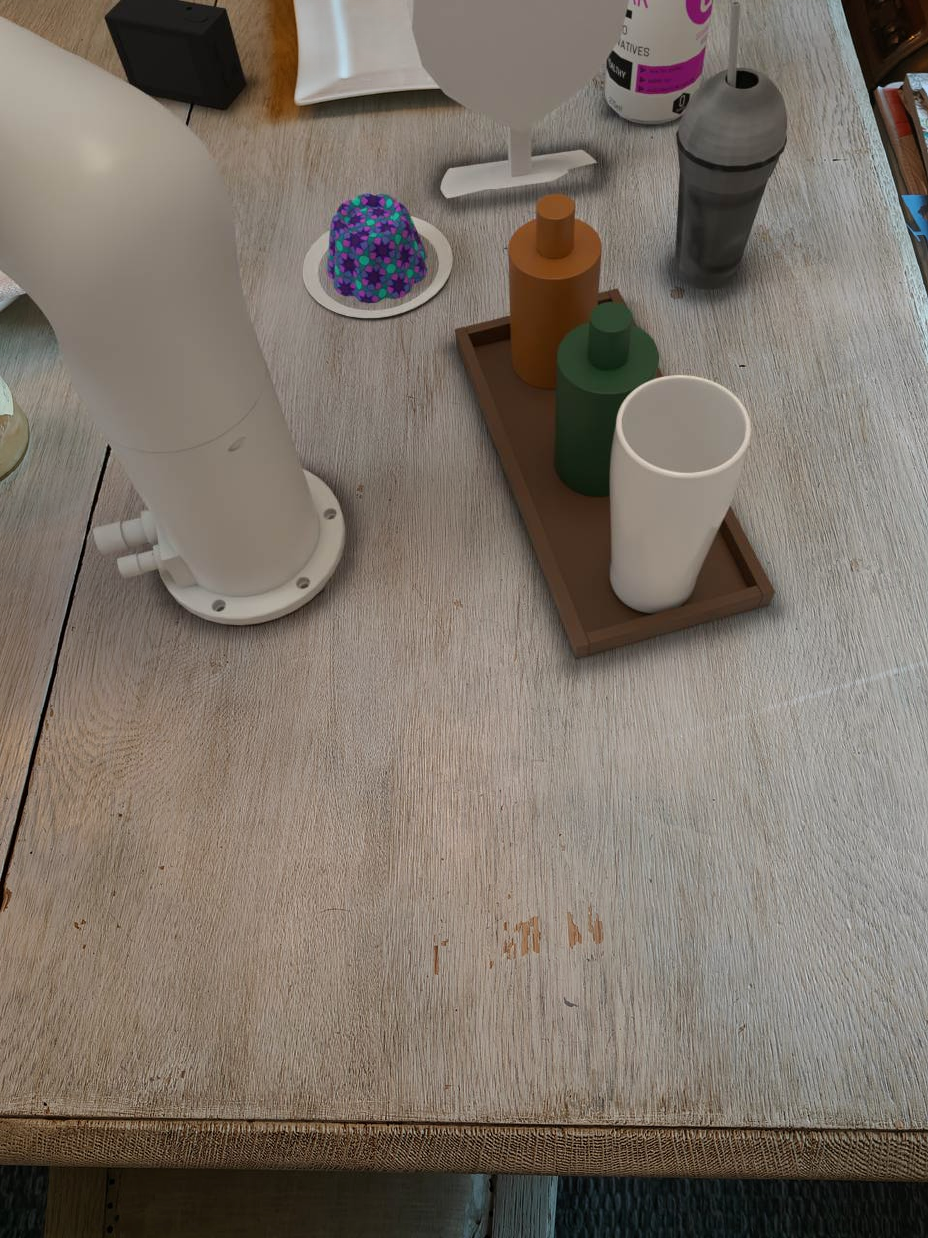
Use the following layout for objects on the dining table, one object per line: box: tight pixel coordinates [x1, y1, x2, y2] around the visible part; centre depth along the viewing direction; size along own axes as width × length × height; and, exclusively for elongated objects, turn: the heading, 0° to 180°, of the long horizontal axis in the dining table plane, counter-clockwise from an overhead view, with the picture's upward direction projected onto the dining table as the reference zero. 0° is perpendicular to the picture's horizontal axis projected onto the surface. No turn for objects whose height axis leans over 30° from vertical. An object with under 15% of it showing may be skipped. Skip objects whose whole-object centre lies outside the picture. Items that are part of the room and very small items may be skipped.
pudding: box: [302, 193, 454, 319], centre depth 74 cm, size 12×12×5 cm
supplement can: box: [604, 0, 714, 125], centre depth 78 cm, size 8×8×15 cm
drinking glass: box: [609, 374, 752, 614], centre depth 54 cm, size 7×7×15 cm
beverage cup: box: [674, 0, 788, 291], centre depth 65 cm, size 7×7×20 cm
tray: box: [454, 288, 776, 660], centre depth 65 cm, size 13×28×2 cm, turn 16°
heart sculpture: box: [407, 0, 629, 200], centre depth 73 cm, size 16×5×18 cm, turn 97°
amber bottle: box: [507, 193, 603, 389], centre depth 64 cm, size 6×6×13 cm
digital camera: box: [104, 0, 247, 111], centre depth 88 cm, size 10×5×7 cm, turn 68°
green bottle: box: [554, 302, 660, 497], centre depth 60 cm, size 6×6×13 cm
